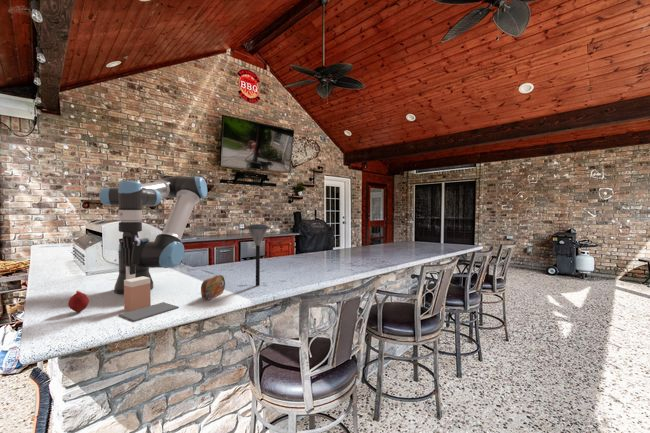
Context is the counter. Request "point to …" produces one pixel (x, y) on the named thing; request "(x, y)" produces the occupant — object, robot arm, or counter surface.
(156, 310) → the mat
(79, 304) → the onion
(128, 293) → the terracotta block
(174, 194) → the robot arm
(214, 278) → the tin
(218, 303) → the counter surface
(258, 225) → the solar garden light
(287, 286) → the counter surface
